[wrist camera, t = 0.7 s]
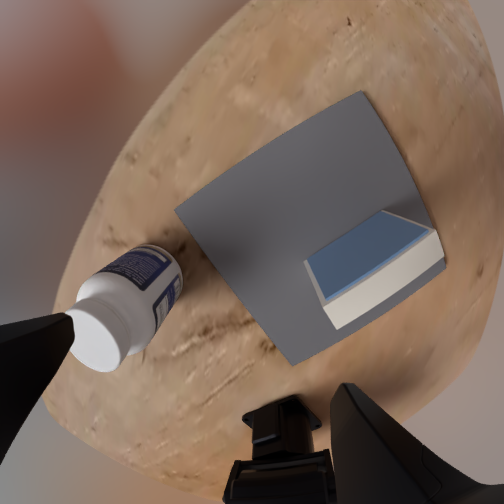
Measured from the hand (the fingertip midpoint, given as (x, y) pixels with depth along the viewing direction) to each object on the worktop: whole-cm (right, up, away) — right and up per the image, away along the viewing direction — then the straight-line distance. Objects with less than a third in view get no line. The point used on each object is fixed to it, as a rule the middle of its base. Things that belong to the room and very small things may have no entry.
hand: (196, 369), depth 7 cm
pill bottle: (-6, +2, +13) cm, 15 cm away
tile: (+9, +4, +11) cm, 15 cm away
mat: (+7, +4, +12) cm, 15 cm away
